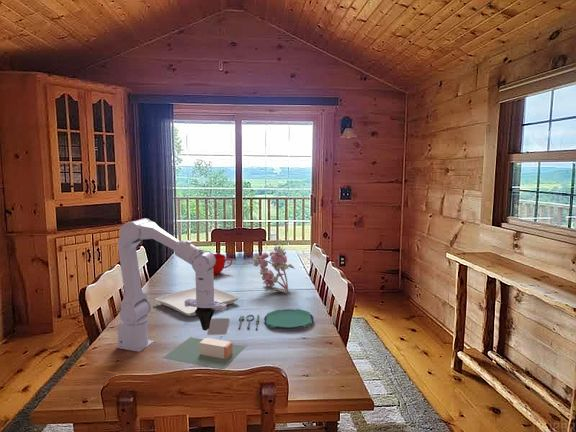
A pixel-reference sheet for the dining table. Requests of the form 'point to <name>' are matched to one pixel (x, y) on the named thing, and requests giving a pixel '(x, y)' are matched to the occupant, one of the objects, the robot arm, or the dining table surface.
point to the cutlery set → (284, 319)
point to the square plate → (179, 298)
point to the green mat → (191, 354)
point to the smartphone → (218, 326)
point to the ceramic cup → (220, 263)
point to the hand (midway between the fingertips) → (205, 329)
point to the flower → (277, 263)
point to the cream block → (216, 348)
